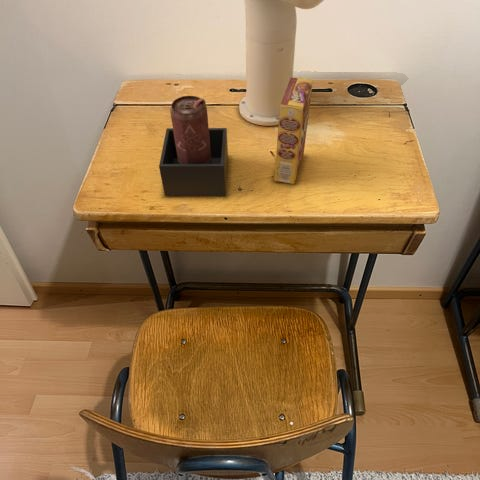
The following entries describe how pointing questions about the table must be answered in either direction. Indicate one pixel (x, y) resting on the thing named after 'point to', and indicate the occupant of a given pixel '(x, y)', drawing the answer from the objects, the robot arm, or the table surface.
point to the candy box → (292, 129)
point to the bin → (195, 168)
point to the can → (191, 130)
